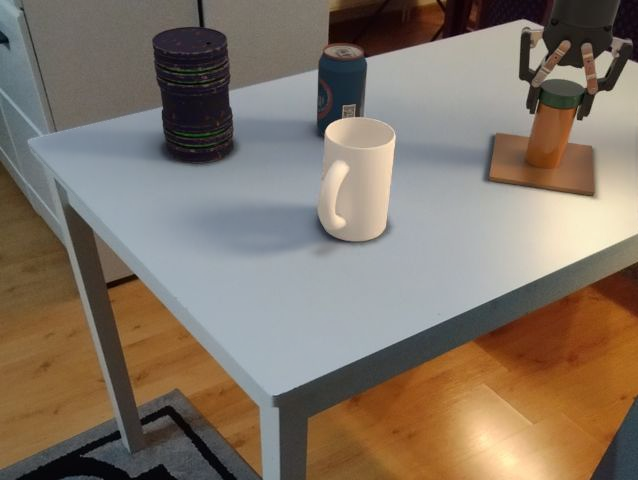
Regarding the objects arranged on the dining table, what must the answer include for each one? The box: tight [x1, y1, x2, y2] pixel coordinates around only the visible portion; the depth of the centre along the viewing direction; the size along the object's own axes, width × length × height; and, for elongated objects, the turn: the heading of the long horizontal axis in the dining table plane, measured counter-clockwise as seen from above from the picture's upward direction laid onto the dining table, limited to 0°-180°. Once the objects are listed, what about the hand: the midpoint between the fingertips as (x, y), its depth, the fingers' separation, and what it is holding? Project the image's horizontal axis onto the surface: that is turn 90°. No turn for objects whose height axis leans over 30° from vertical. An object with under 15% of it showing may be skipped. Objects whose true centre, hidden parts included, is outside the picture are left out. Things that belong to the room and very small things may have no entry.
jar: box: [525, 100, 579, 168], centre depth 94 cm, size 5×5×10 cm
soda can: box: [316, 42, 368, 137], centre depth 99 cm, size 7×7×12 cm
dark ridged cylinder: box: [151, 26, 235, 164], centre depth 93 cm, size 10×10×15 cm
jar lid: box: [538, 78, 585, 109], centre depth 91 cm, size 6×6×2 cm
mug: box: [317, 117, 396, 242], centre depth 79 cm, size 8×12×12 cm
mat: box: [487, 132, 596, 197], centre depth 97 cm, size 14×14×1 cm
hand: (555, 114), depth 92 cm, fingers closed on jar lid, 5 cm apart
